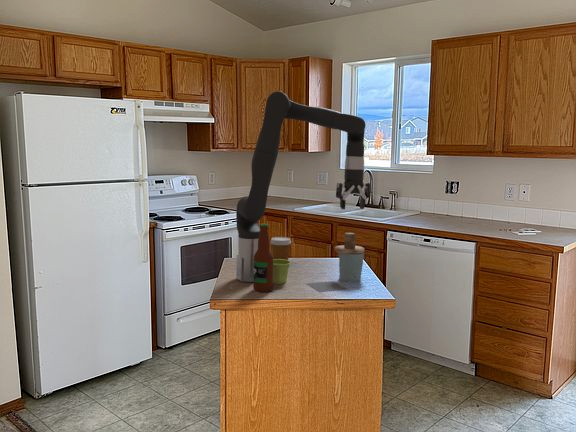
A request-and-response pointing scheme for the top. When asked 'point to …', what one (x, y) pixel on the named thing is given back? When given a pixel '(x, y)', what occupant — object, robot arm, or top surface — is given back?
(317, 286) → the mat
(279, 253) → the disposable coffee cup
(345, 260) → the grey green tapered cylinder
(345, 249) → the lid
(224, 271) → the top surface
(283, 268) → the plant pot
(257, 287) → the bottle
